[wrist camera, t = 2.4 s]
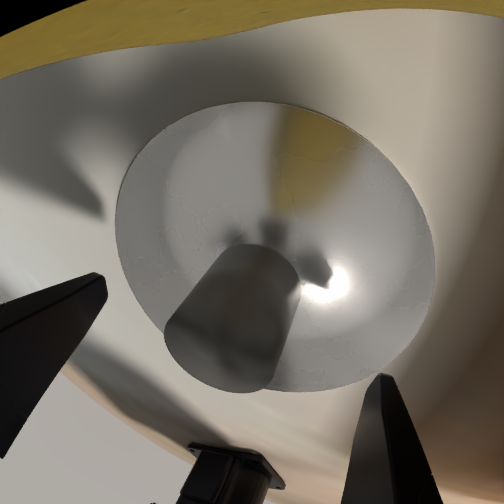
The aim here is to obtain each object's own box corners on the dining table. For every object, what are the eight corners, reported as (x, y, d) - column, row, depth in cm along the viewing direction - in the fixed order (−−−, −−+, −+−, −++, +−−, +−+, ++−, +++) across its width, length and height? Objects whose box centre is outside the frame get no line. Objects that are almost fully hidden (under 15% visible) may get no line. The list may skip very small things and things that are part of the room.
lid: (434, 371, 11) (437, 453, 8) (198, 379, 16) (165, 436, 13) (386, 50, 6) (408, 22, 3) (84, 173, 12) (11, 211, 8)
